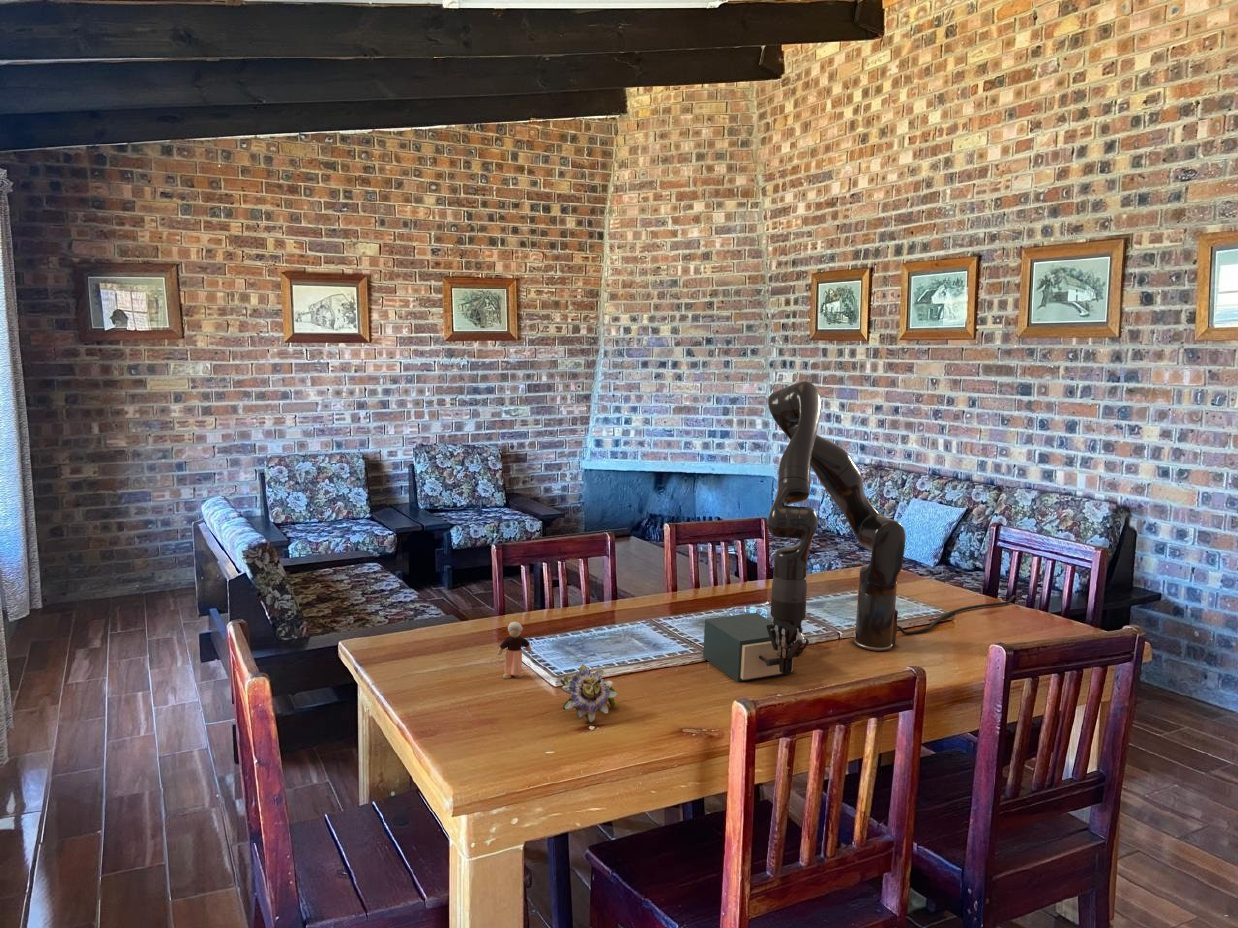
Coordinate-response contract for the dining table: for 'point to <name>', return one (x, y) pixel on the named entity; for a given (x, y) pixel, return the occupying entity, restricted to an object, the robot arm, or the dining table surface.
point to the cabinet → (733, 640)
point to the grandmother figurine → (513, 650)
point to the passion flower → (588, 693)
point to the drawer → (759, 660)
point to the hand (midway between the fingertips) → (785, 672)
